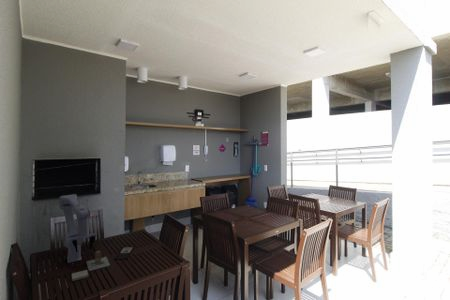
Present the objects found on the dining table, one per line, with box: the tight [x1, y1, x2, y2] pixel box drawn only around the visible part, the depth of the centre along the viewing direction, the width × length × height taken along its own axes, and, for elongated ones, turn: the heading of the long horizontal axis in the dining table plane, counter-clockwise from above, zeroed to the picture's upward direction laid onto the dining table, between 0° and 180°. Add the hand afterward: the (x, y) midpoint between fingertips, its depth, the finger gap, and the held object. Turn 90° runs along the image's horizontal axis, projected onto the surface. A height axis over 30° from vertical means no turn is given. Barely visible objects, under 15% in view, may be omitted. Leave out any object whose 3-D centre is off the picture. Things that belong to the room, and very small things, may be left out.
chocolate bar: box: [113, 246, 135, 261], centre depth 173 cm, size 9×1×18 cm
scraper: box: [92, 250, 105, 266], centre depth 158 cm, size 4×7×8 cm, turn 126°
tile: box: [71, 269, 89, 282], centre depth 144 cm, size 2×8×7 cm
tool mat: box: [85, 256, 111, 272], centre depth 158 cm, size 14×12×1 cm
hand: (83, 250), depth 155 cm, fingers open, 7 cm apart
